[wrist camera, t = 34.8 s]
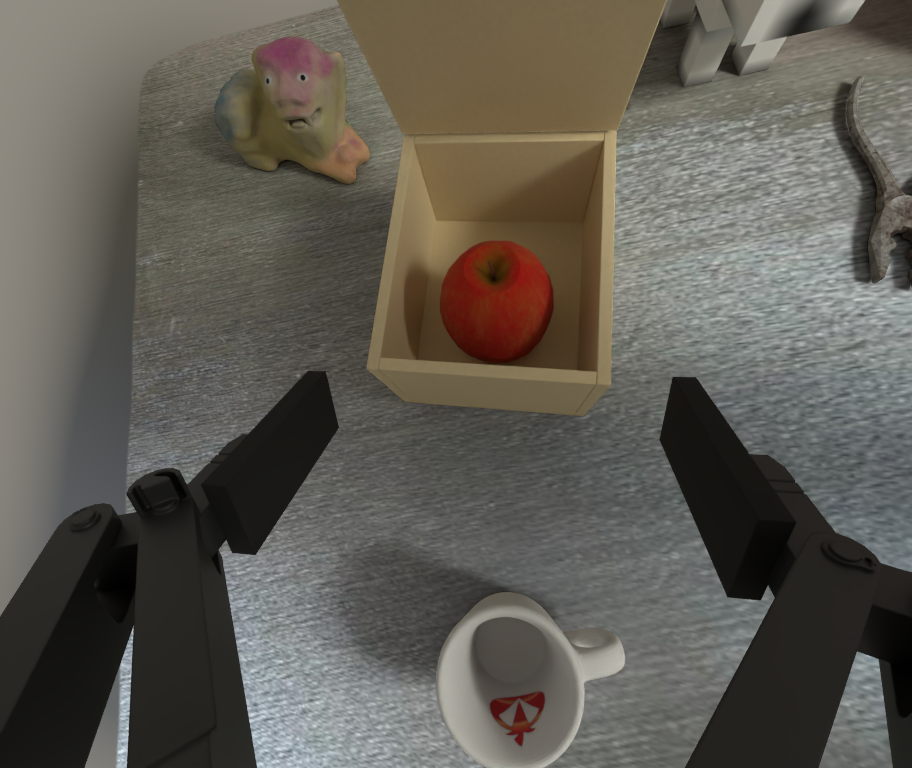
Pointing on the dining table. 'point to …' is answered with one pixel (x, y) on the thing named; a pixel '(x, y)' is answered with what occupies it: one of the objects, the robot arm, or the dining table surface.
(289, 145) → the sculpture
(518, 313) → the apple
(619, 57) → the lid
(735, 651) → the dining table surface
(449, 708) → the cup
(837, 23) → the toy llama
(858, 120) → the pliers
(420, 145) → the chest
